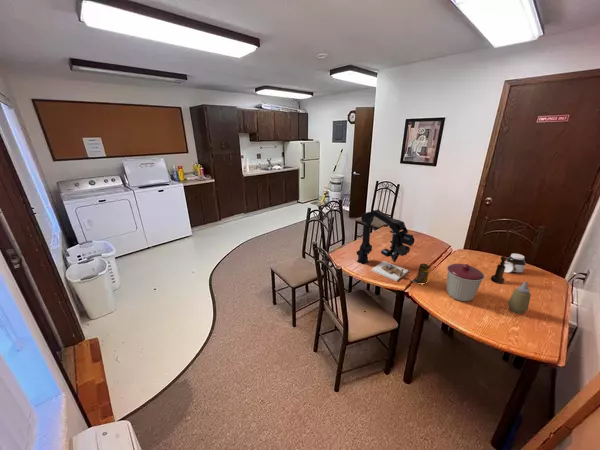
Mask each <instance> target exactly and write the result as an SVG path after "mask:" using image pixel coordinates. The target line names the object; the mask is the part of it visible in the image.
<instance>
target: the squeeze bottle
mask: <svg viewBox="0 0 600 450" xmlns="http://www.w3.org/2000/svg"><path fill="white" fill-rule="evenodd" d="M530 291H531V290H530V288H529V287H528V282H527V281H524V282H523V283H522V284H521V285H518V286H517V288H515V289H514V290H513V292H512V294H511V296H510V297H509V300H508V302H507V303H508V309H509V310H510V312H512V313H515V314H518V315H523V314H524V313H526V312H527V311H528V309H529V306H530V302H531V301H530V300H531V295H532V294H531V293H530Z"/></svg>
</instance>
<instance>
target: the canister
mask: <svg viewBox="0 0 600 450" xmlns="http://www.w3.org/2000/svg"><path fill="white" fill-rule="evenodd" d="M446 270H447V274H446V275H447V276H446V277H447V278H446V292H447V294H448V295H449V296H450V297H451V298H453V299H455V300H456V301H460V302H470V301H472V300H473V299H474V298H475V296H476V294H477V293H478V290H479V288H480V285H481V284H482V282H483V280H484V279H485V277H486V276H485V274H484V273H483V272H482V271H481V270H479V269H478V268H477V267H475V266H472V265H470V264H467V263H464V264H463V263H452V264H449V265H447V266H446Z"/></svg>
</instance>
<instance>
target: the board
mask: <svg viewBox="0 0 600 450" xmlns="http://www.w3.org/2000/svg"><path fill="white" fill-rule="evenodd" d="M386 265H388V269H389V270H392V266H394V267H396V268H397V269H399V270H402V268H403V267H402V266H398V265H395V264H392V263H390V262H387V261H385V260H383V261H381V262H380V263H378V264H377V265H376V266H374V267H373V268H371V272H373V273H374V274H375V273H376V274H378V275H380V276H383V277H385V278H386V279H390V280H392V281H394V282H398V281H399V280H400V279H401V278H403V277H404V276H405V275H406V274H408V273H409V270H408V269H407V268H404V269H403V275H402V276H401V277H399V276H398V275H396V274H394V273H388V272H386V271H385V270H383V269H382V267H383V266H386Z"/></svg>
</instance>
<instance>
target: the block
mask: <svg viewBox="0 0 600 450" xmlns="http://www.w3.org/2000/svg"><path fill="white" fill-rule="evenodd" d="M382 269H383V270H385V271H386V272H388V273H394V274H396V275H398V276H399V277H401V276H402V275H403V271H401V270H399V269H397V268H396V267H394V266H392V270H389V269H388V265H386V266H383V267H382ZM401 278H402V277H401Z"/></svg>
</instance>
